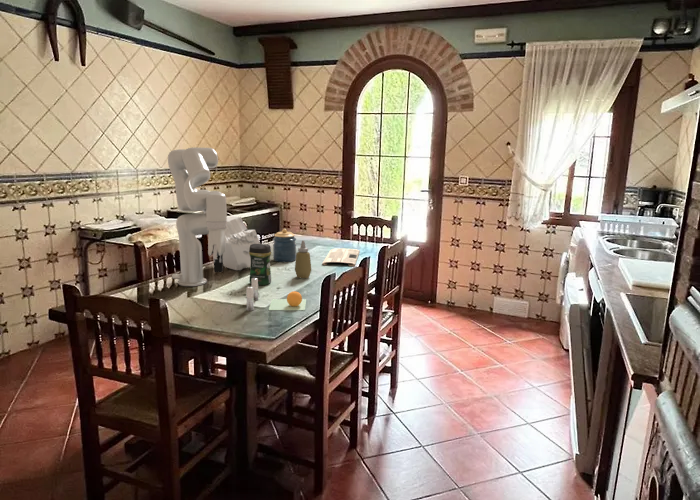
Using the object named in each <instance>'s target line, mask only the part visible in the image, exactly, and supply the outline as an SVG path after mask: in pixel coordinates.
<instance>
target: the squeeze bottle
mask: <svg viewBox="0 0 700 500" xmlns="http://www.w3.org/2000/svg"><path fill="white" fill-rule="evenodd" d="M294 271H295V274H296V277H297V279H308V278H309V277H310V276H311V272H312V262H311V253H310V252H309V248H308V247H306V241H305V240H301V243H300V247H298V252H296V260H295V264H294Z"/></svg>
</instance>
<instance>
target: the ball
mask: <svg viewBox="0 0 700 500" xmlns="http://www.w3.org/2000/svg"><path fill="white" fill-rule="evenodd" d="M286 299H287V302H288V304H289V305H291V306H294V307H295V306H298V305H300V303H301V302H302V299H303V297H302V294H301V293H300V292H298V291H293V290H292V291H291V292H289V293H288V294H287V296H286Z"/></svg>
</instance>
